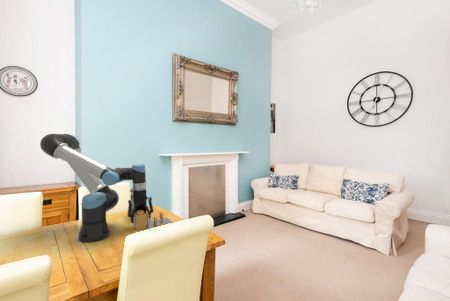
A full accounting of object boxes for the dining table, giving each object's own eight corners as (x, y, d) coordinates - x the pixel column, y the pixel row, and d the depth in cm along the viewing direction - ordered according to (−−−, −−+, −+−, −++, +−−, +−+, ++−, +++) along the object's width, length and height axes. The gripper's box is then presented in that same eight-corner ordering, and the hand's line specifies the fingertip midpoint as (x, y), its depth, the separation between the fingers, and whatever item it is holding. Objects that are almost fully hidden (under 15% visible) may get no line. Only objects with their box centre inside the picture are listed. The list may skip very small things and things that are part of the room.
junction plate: (149, 230, 138) (149, 229, 138) (143, 223, 150) (143, 222, 150) (174, 225, 147) (174, 224, 147) (167, 218, 159) (167, 217, 159)
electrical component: (129, 214, 167) (129, 187, 166) (144, 213, 171) (144, 186, 170) (131, 222, 151) (131, 192, 150) (147, 220, 155) (147, 191, 154)
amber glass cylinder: (154, 226, 143) (154, 218, 143) (153, 225, 145) (153, 217, 144) (157, 225, 144) (157, 217, 144) (156, 224, 146) (156, 216, 146)
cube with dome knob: (136, 229, 139) (136, 213, 139) (133, 226, 144) (133, 210, 144) (146, 227, 142) (146, 211, 142) (143, 224, 147) (143, 209, 147)
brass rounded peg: (160, 221, 152) (160, 213, 152) (159, 220, 154) (159, 212, 154) (163, 220, 153) (163, 213, 153) (162, 219, 155) (162, 212, 155)
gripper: (122, 193, 133) (124, 231, 135) (158, 188, 144) (159, 223, 146) (120, 190, 139) (122, 227, 141) (154, 185, 151) (155, 220, 152)
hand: (141, 225), depth 143 cm, fingers open, 7 cm apart
